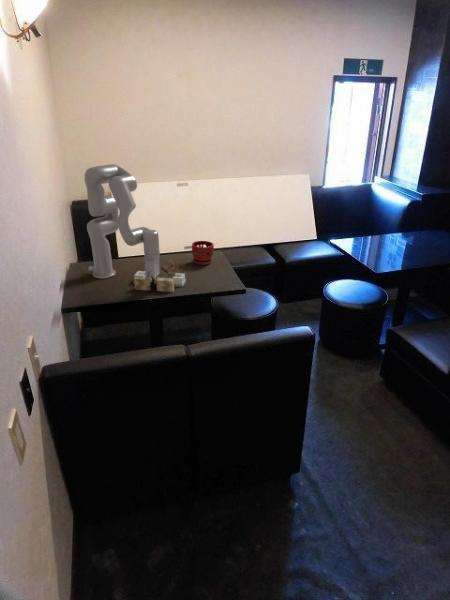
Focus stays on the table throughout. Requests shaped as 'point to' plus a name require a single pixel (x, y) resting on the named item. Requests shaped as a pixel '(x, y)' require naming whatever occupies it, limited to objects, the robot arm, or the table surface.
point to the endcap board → (178, 279)
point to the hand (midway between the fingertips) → (154, 288)
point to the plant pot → (202, 252)
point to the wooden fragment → (172, 267)
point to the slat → (161, 284)
